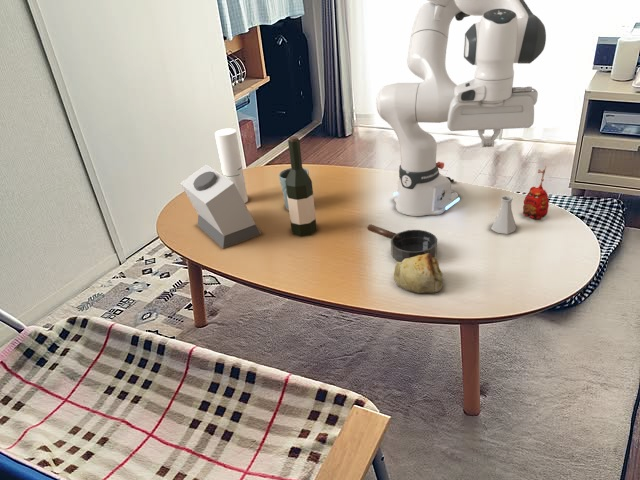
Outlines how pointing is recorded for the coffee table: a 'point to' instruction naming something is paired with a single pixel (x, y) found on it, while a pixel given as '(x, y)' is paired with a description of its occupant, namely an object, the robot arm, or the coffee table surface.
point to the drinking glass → (283, 177)
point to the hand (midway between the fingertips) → (487, 146)
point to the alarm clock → (219, 207)
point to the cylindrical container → (231, 159)
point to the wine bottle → (299, 193)
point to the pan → (413, 244)
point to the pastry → (419, 274)
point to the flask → (505, 217)
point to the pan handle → (382, 231)
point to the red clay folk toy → (536, 201)
